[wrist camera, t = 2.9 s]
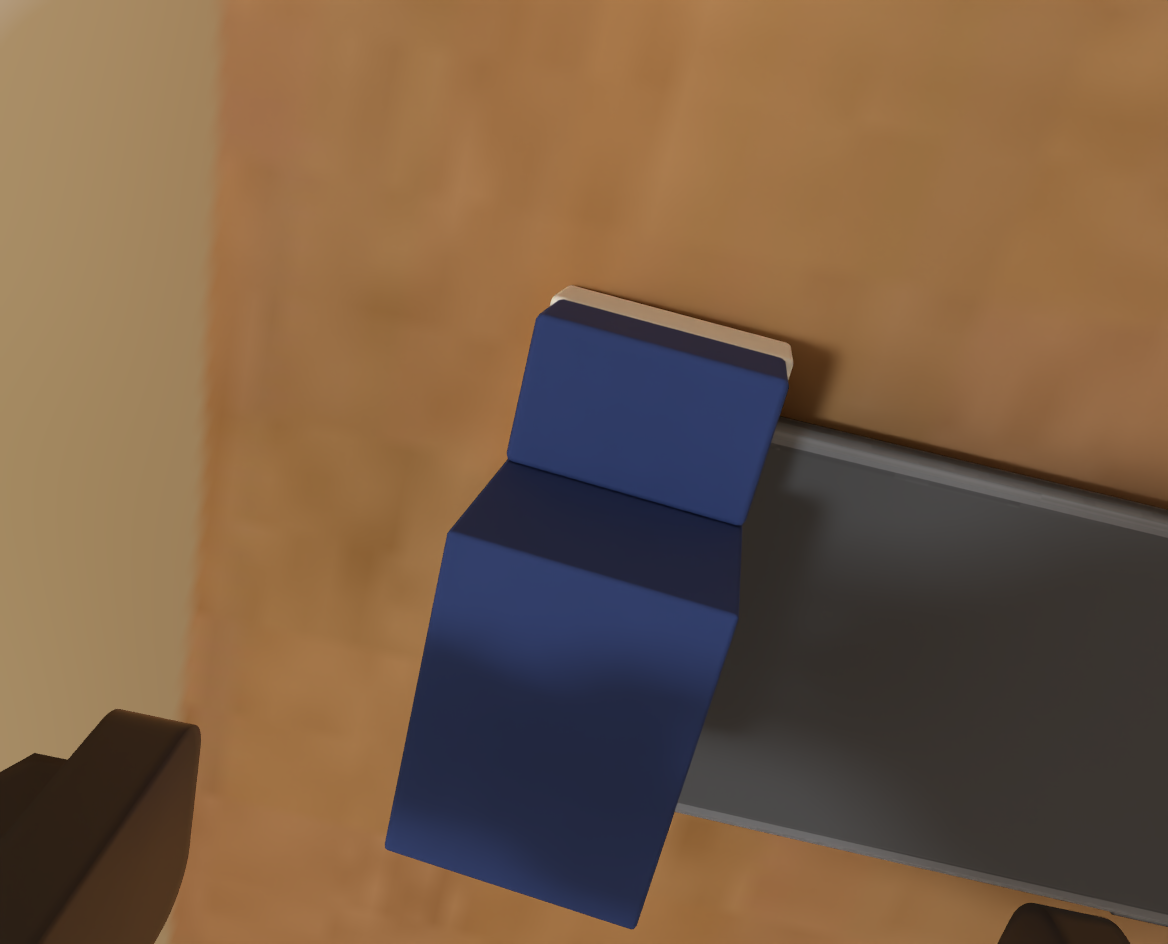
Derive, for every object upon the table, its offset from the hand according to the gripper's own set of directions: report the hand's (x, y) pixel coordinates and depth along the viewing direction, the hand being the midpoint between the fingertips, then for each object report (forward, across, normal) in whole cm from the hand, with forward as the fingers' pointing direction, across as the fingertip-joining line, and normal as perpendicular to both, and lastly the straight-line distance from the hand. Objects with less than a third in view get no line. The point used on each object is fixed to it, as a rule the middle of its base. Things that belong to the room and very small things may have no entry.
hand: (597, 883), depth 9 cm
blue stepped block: (+7, 0, 0) cm, 7 cm away
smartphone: (+7, -8, 0) cm, 11 cm away
